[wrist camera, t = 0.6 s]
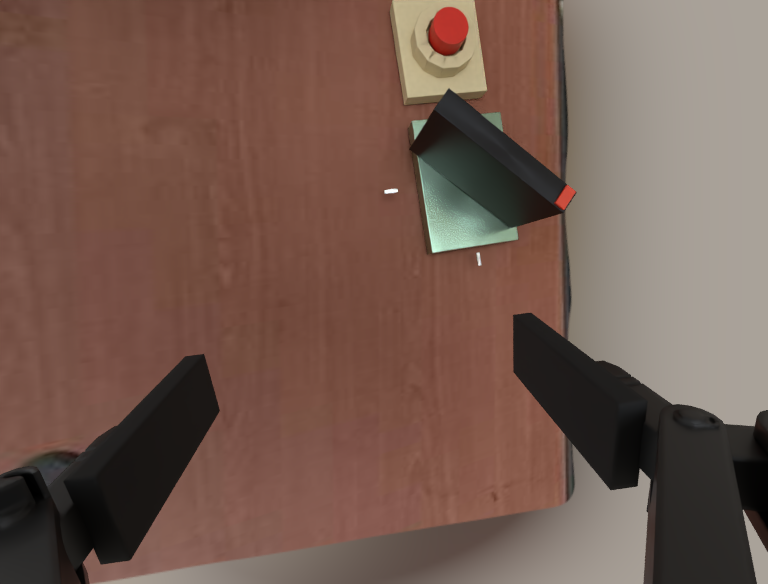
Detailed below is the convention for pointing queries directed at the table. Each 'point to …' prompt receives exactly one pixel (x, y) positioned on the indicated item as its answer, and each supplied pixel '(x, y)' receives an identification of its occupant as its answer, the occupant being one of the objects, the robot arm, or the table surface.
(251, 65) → the table surface
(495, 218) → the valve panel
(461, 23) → the red push button
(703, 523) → the robot arm
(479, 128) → the black panel
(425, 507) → the table surface
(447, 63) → the button box
